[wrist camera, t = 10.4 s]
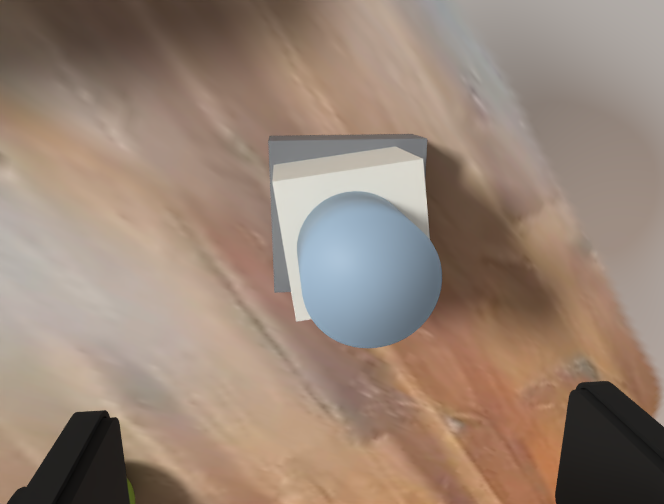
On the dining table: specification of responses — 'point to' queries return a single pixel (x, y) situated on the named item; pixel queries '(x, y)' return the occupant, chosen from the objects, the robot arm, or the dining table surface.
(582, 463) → the robot arm
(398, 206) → the tower block
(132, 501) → the snail figurine
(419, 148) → the tower base
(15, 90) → the dining table surface
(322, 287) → the pale blue rounded part
